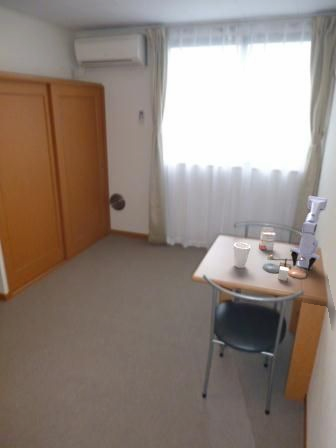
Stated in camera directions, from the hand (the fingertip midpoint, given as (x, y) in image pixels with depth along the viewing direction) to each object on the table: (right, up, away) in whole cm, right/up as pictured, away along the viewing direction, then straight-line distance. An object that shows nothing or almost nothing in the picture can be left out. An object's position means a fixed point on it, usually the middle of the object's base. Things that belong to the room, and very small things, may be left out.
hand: (301, 267), depth 173 cm
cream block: (-7, -7, +9) cm, 13 cm away
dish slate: (-10, -3, +19) cm, 22 cm away
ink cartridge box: (-5, +6, +48) cm, 49 cm away
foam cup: (-28, -2, +21) cm, 36 cm away
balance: (-1, -2, +23) cm, 23 cm away
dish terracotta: (+3, -6, +14) cm, 16 cm away
